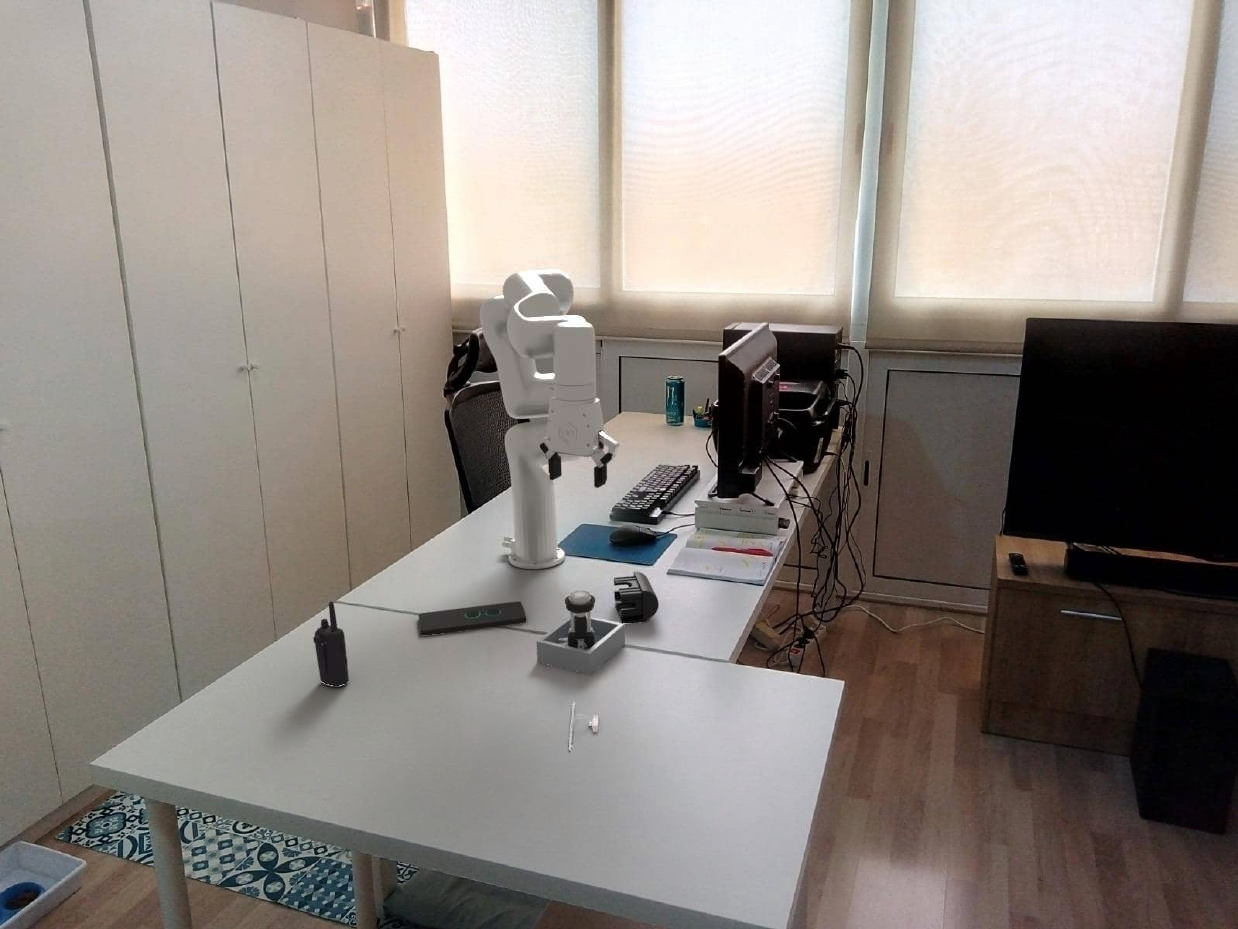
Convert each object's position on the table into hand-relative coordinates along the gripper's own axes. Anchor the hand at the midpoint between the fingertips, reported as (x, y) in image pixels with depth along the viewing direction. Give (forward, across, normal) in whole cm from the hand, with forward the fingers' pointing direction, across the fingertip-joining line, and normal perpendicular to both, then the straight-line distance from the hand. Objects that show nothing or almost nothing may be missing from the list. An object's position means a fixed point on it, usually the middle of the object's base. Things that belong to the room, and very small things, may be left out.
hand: (577, 481), depth 166 cm
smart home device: (+28, -17, -12) cm, 35 cm away
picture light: (+27, +21, -34) cm, 48 cm away
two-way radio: (+27, -23, -42) cm, 55 cm away
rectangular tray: (+27, +8, -14) cm, 31 cm away
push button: (+26, +8, -14) cm, 30 cm away
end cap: (+27, +9, +5) cm, 29 cm away
